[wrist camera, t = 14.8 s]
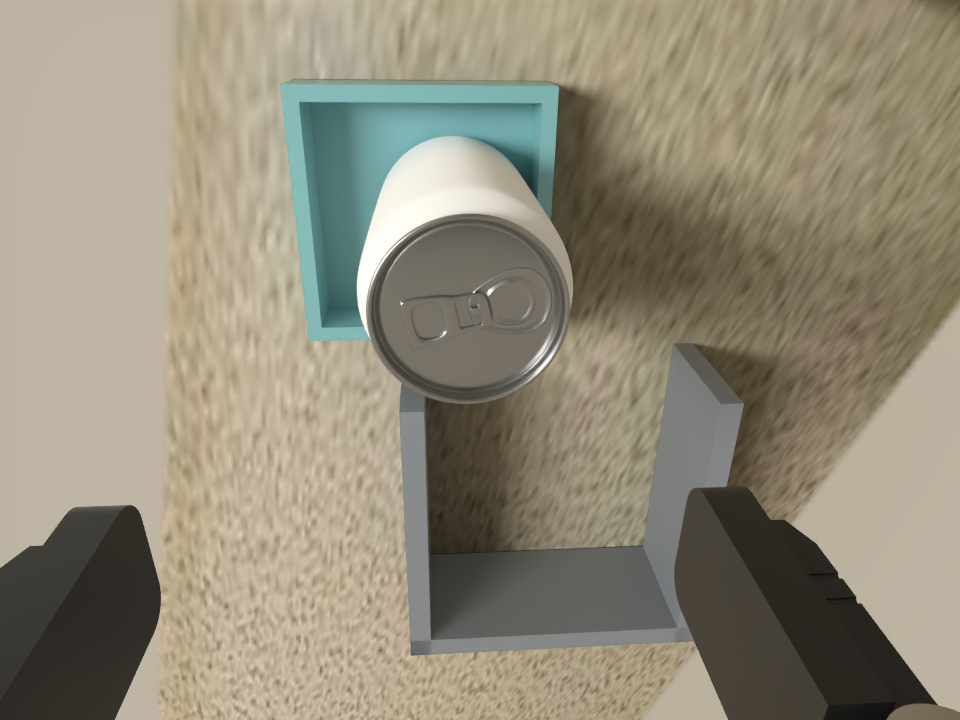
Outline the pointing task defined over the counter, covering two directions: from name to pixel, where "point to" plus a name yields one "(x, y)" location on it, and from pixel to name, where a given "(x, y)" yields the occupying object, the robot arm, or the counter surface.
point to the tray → (390, 165)
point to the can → (463, 275)
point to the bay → (570, 572)
